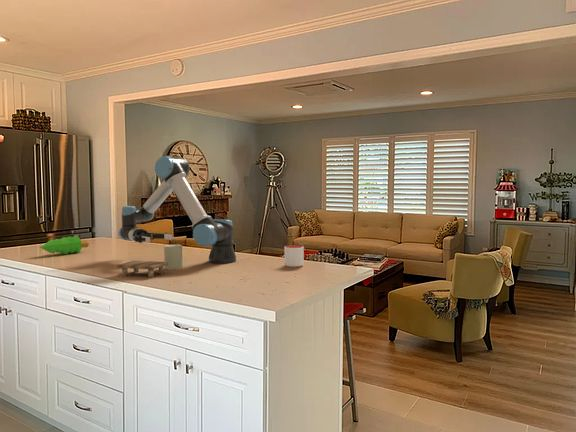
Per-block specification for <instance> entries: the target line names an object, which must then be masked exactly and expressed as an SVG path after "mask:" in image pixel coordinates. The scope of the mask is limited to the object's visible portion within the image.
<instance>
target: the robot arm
mask: <svg viewBox="0 0 576 432" xmlns="http://www.w3.org/2000/svg"><path fill="white" fill-rule="evenodd" d="M190 167H191V166H190V164H189V162H188V160H186V159H185V158H184V157H181V156H172V155H164V156H160V157H158V159H157V160H156V161H155V164H154V172H155V175H156V176H157V177H158V178H160V179H163V181H162V182H160V184H159V185H158V187H157V188H156V189H155V191H153V193H152V194H151V195H150V196H149V197H148V199H147V200H146V201H145V202H144V203H143V205H142V206H141V207H140V208H136V206H135V205H123V206H122V207H121V228H119V230H118V236H119V238H120V239H121V240H124V241H128V242H134V243H135V244H136V243H140V244H143V243H148V244H149V243H151V240H155V239H158V240H159V239H161V240H163V239H164V240H168V241H173V236H174V235H173V234H169V233H167V232H164V233H160V232H159V233H157V232H148V231H147V230H146V229H144V228H140V227H139V228H138V227H137V223H138V222H139V223H140V222H148V221H151V220H153V219H154V216H155V212H156V211H157V210H158V208H159V207H161V205H162V204H163V203H164V202H165V200H166V199H167V198H168V197H169V196H170V194H171V193H172V192H174V193H175V195H176V197H177V198H178V201H179V202H180V204H181V206H182V208H183V209H184V211H185V213H186V214H187V216H188V217H189V219H190V221H191V223H192V225H191V228H192V238H193V240H194V242H196V244H197V245H199V246H201V247H211V248H210V252H209V255H208V262H209V263H213V264H229V263H230V264H231V263H234V262H236V261H237V255H236V252H235V250H234V242H233V241H234V239H233V238H234V236H233V234H234V229H233V228H234V227H233V221H232V220H231V219H217V218H216V219H215V218H214V219H213V217H212V216H211V215H208V214H207V213H206V210H205V209H204V208H203V206H202V203H200V201H199V199H198V197H197V196H196V194H195V192H194V191H193V189H192V187H191V185H190V183H189V182H188V181H187V177H188V176H189V174H190V170H191V168H190Z"/></svg>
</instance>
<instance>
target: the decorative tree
mask: <svg viewBox="0 0 576 432" xmlns="http://www.w3.org/2000/svg"><path fill="white" fill-rule="evenodd" d="M89 244H90V243H89V241H88V240H87V239H86V240H85V239H83V240H81V239H80V237H79V236H76V235H74V236H67V237H66V236H64V237H62V238H56V239H50V240H49V241H47V242H46V243H44V244H43V245H41V246H39V248H40V249H41V250H43V251H46V252H48V253H50V254H55V253H56V254H57V253H59V254H62V255H66V254H67V255H68V254H74V253H78V254H80V252H81V250H82V249H83V248H88V247H89Z"/></svg>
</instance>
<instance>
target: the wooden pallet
mask: <svg viewBox="0 0 576 432" xmlns="http://www.w3.org/2000/svg"><path fill="white" fill-rule="evenodd" d="M165 265H168V262H165V261H154V260H131V261H127V262H124V263H120V264H117V268H118V269H120V268H121V269H122V270H121V273H122V274H121V275H122V277H127V276H128V274H129V273H128V269H133V271H132V272H133V273H139V272H140V271H139V270H147V271H148V272H147V273H148V278H154V277H155V272H154V271H155V270H156V269H158V274H159V273H163V274H165V269H164V268H165Z"/></svg>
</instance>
